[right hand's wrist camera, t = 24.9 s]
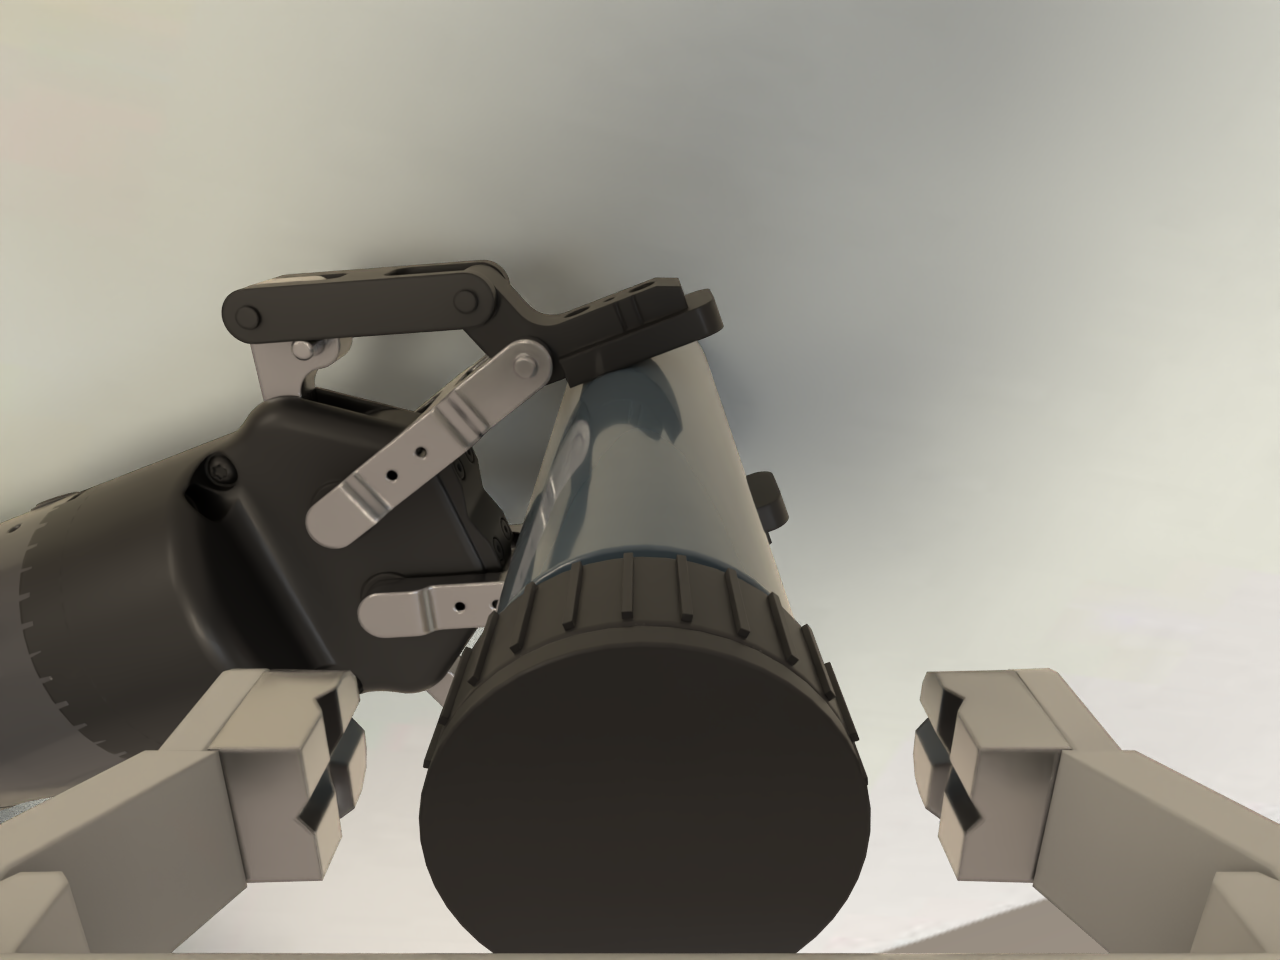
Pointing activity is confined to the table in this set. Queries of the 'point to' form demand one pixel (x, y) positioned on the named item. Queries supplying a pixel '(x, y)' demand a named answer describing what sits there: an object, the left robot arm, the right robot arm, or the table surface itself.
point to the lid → (644, 770)
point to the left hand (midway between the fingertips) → (745, 404)
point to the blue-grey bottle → (643, 480)
